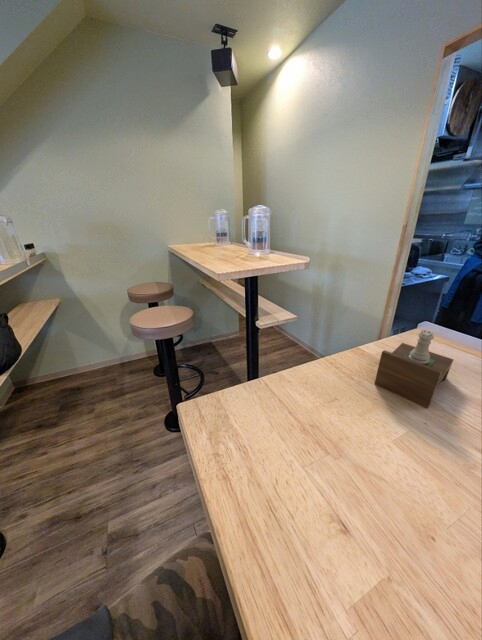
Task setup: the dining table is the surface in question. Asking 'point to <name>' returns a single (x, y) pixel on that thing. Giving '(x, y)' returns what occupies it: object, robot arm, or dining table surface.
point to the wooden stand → (412, 374)
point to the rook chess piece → (422, 348)
